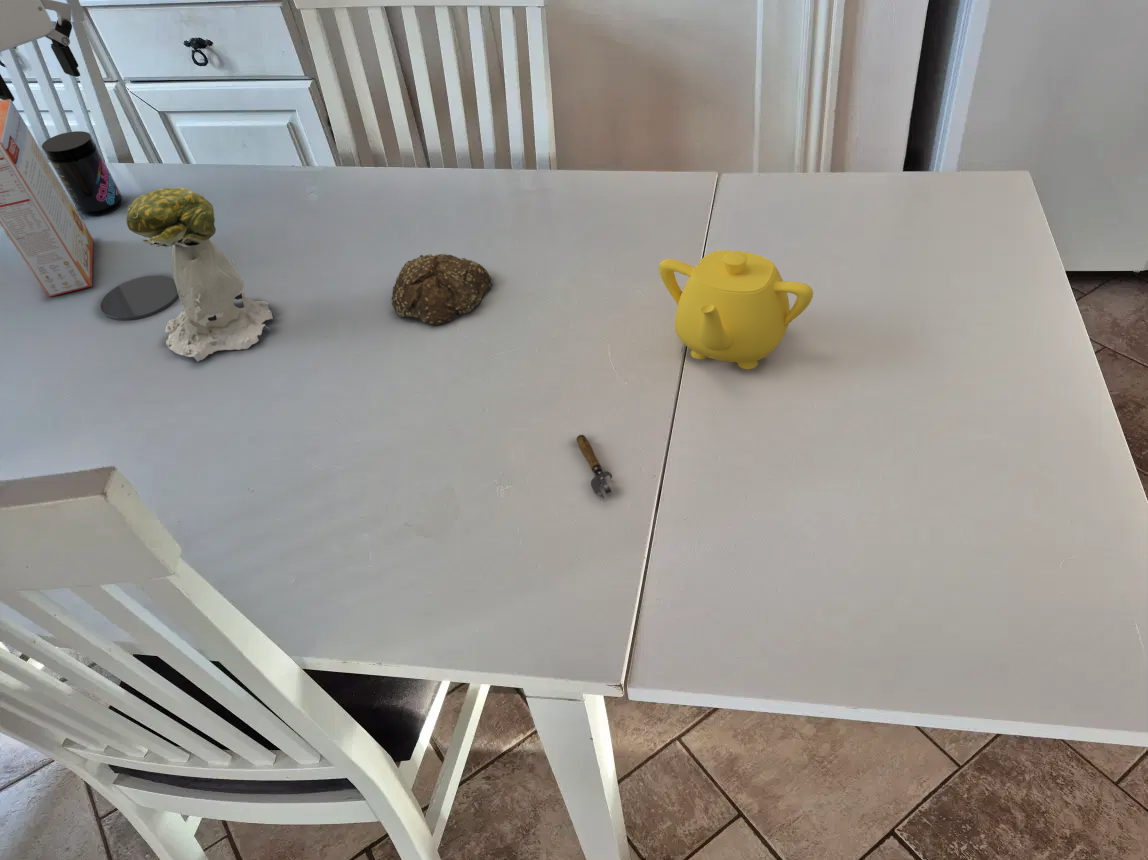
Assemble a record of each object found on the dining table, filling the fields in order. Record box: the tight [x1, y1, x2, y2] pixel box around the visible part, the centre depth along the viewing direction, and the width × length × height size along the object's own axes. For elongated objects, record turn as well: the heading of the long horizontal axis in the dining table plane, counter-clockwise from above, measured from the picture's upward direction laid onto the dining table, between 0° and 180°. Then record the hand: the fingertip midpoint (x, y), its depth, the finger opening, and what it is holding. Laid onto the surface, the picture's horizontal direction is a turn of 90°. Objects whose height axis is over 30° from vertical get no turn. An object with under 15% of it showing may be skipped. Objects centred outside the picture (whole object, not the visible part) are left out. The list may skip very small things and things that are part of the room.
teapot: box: [658, 249, 814, 370], centre depth 96 cm, size 14×14×12 cm
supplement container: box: [41, 130, 123, 216], centre depth 128 cm, size 7×7×10 cm
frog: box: [126, 187, 274, 363], centre depth 100 cm, size 12×13×18 cm
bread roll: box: [391, 253, 492, 326], centre depth 108 cm, size 13×12×5 cm
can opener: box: [576, 434, 613, 499], centre depth 86 cm, size 9×2×1 cm, turn 16°
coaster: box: [100, 274, 179, 321], centre depth 113 cm, size 10×10×1 cm
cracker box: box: [0, 99, 94, 298], centre depth 111 cm, size 14×6×21 cm, turn 23°
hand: (41, 87), depth 118 cm, fingers open, 9 cm apart
